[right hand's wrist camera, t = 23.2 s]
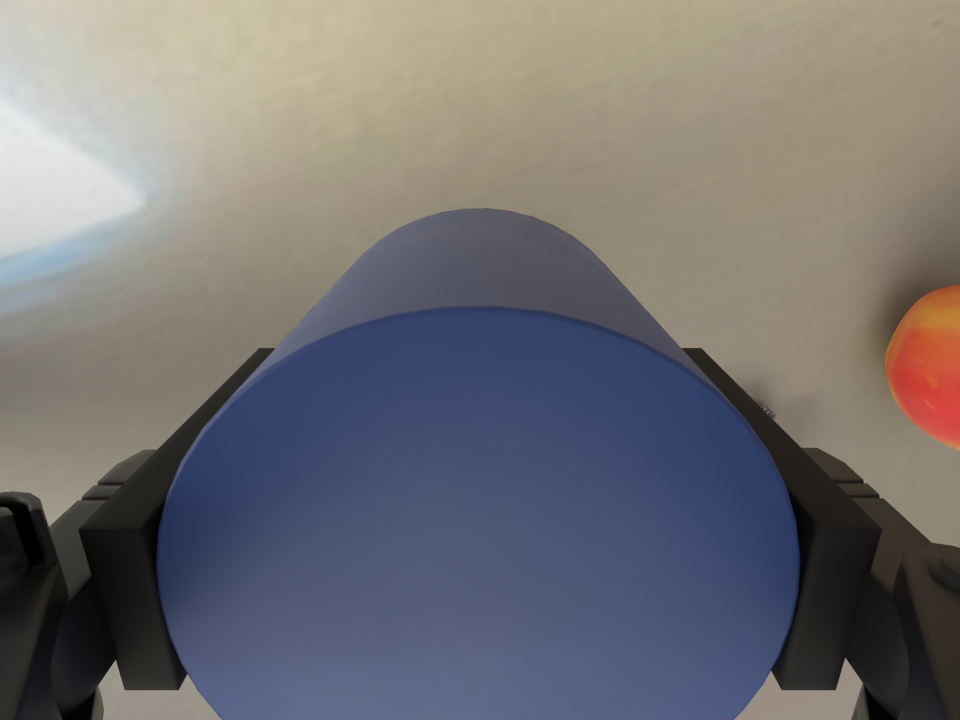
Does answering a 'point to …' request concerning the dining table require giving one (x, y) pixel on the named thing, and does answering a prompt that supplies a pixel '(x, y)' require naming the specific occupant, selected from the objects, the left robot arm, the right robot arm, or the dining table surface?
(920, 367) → the apple
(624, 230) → the dining table surface
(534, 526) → the canister
